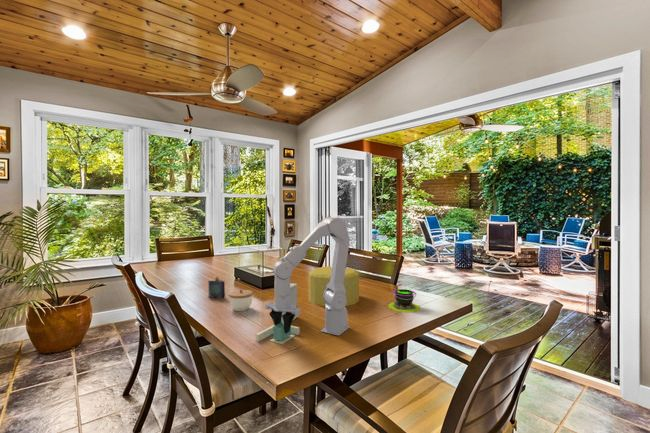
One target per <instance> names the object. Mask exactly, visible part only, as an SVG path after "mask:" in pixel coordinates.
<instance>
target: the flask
mask: <svg viewBox="0 0 650 433" xmlns="http://www.w3.org/2000/svg"><path fill="white" fill-rule="evenodd" d="M207 283H208V298H212V297H218V298H217V299H225V298H226V290H225V289H226V288H225V280H223V279H219V276H216V277H214V279H209V280H208V282H207ZM224 297H225V298H224Z"/></svg>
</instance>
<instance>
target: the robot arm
mask: <svg viewBox="0 0 650 433" xmlns="http://www.w3.org/2000/svg"><path fill="white" fill-rule="evenodd" d="M347 226H348V224H347V223H346V222H345V221H344V220H343V219H342V218H341V217H331V216H326V217H324V218H323V219H322V220H321V221H320V222H318V223H317V225H316V226H315V227H314V228H313V229H312V230H311V232H310V233H309V234H308V235H307V236H306V237H305V238H304V240H303V241H301V242H300V244H299V245H294V246H290V247H289V248H288V250H289V251H288V252H287V253H286V254H285V255H284V256H282V257H280V258H279V261H276V262H275V263H274V265H273V267H272V272H273V275H274V284H273V285H274V286H273V287H274V289H273V290H274V302H273V303H272V302H267V303H264V304H265V305H264V306H265V310H271V311H270V312H269V316H270V317H271V319H272V322H273V325H277V324H279V323H281V318H282V317H283V321H284V331H285V333H288V332H289V331H290V327H291V326H292V322H293V321H294V320H293V318H294V316H295V315H297V316H300V315H301V308H300V307H299V308H298V307H297V308H296V307H294V306H291V305H290V283H291V276H292V274H293V271H294V269H295V268H296V267H297V266H298V265H299V264H300V263H301V262H302V261H303V260H304V259H305V258H306V257H307V251H309V249H310V248H312V246H314V245H315V244H316V243H317V242H318V241H319V240H320V239H321V238H323V237H329V236H330V237H331V238H332V239H333V240H334V242H335V243H334V244H335V245H334V252H333V258H332V264H331V267H332V270H331V277H330V282H329V283H328V284H327V287H326V290H325V292H324V294H323V299H324V301H325V302H326V306H324V307H325V309H324V312H325V313H324V316H325V317H324V324H325V325H324V328H322V329H321V330H320V332H321V333H326V334H330V335H333V336H340V335H343V333H344V332H346V331H347V330H348V329H350V325H348V310H347V306H345V305H346V302H347V300H346V296H345V293H346V290H345V288H344V285H343V283H344V276H345V270H346V268H347V263H348V262H347V261H348V254H349V249H350V248H349V247H350V241H351V240H350V235H349V231H348V228H347ZM282 312H286V314H283V315H282ZM292 320H293V321H292Z"/></svg>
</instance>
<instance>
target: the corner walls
mask: <svg viewBox="0 0 650 433" xmlns="http://www.w3.org/2000/svg"><path fill="white" fill-rule="evenodd" d="M273 326H275V325H274V324H272V325H271V326H269V327H267V328H265V329H263V330H261V331H259V332H257V333H255V341H256V342H257V343H258V342H259V343H260V342H261V341H262V340H264V339H266V338H268V337H270V336H273ZM291 334H292V335H295V336H298V335H300V326H294V325H291Z"/></svg>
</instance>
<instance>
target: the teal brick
mask: <svg viewBox="0 0 650 433" xmlns="http://www.w3.org/2000/svg"><path fill="white" fill-rule="evenodd" d="M272 326H273V325H272ZM290 335H291V327H290V331H289V332H288V333H285V331H284V321H283V322H281V323H279V324H277V325H275V326H273V334H272V336H273V337H272V339H276V340H280V341H282V340H283V339H285V338H287V337H288V336H290Z"/></svg>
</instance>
